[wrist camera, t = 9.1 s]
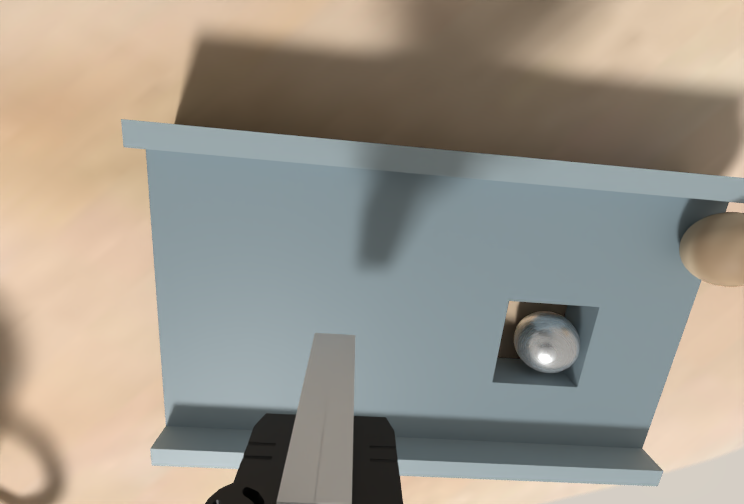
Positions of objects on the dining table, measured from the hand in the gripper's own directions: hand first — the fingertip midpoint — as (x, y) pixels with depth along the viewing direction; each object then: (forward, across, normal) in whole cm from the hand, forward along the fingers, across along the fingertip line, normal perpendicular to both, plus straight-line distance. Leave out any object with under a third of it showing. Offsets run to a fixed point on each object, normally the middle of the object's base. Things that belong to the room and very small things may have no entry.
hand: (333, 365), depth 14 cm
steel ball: (+5, +11, -1) cm, 12 cm away
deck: (+7, +4, 0) cm, 8 cm away
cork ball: (+3, +16, +5) cm, 17 cm away
